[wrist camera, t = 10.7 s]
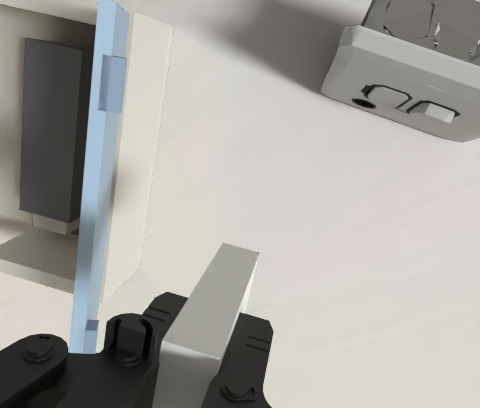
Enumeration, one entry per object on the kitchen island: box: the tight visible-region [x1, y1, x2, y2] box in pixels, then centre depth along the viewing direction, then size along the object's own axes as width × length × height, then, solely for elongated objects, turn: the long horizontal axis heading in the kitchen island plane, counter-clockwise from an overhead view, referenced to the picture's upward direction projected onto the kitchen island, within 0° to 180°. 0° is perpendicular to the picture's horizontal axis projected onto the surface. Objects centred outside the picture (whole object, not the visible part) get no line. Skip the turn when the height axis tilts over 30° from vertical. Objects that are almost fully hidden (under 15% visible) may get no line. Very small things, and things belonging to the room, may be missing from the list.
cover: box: [69, 0, 130, 354], centre depth 21 cm, size 18×8×2 cm
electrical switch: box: [321, 0, 480, 142], centre depth 21 cm, size 9×5×9 cm, turn 71°
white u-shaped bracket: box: [0, 0, 174, 303], centre depth 28 cm, size 18×9×6 cm, turn 168°
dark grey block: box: [20, 38, 94, 235], centre depth 30 cm, size 13×4×3 cm, turn 168°
